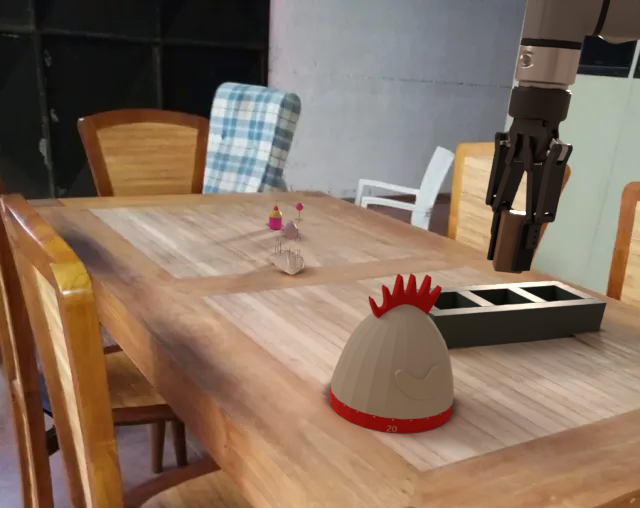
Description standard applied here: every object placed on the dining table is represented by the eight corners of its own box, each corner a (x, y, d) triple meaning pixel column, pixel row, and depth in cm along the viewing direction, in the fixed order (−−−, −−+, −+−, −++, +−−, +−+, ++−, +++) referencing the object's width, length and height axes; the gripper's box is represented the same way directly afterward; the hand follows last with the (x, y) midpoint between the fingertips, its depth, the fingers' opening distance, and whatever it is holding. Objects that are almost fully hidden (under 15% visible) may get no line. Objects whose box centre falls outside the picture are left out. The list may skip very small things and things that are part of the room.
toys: (308, 240, 148) (310, 210, 145) (270, 238, 147) (271, 208, 144) (302, 221, 163) (303, 194, 161) (267, 220, 162) (268, 192, 160)
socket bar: (598, 334, 107) (607, 302, 105) (429, 351, 96) (434, 316, 94) (549, 310, 116) (556, 280, 114) (390, 322, 105) (394, 290, 103)
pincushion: (309, 278, 123) (311, 245, 120) (274, 277, 122) (275, 244, 119) (297, 259, 133) (299, 229, 131) (265, 259, 132) (266, 228, 130)
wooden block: (493, 271, 100) (504, 214, 97) (491, 264, 104) (501, 209, 100) (522, 274, 100) (534, 217, 96) (519, 267, 104) (530, 211, 100)
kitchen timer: (474, 425, 77) (500, 292, 70) (359, 439, 73) (374, 298, 66) (415, 374, 89) (432, 255, 82) (312, 384, 84) (321, 258, 77)
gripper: (478, 80, 97) (451, 249, 108) (567, 89, 82) (525, 284, 93) (522, 83, 100) (492, 248, 110) (616, 92, 85) (570, 282, 96)
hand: (507, 264), depth 102 cm, fingers closed on wooden block, 5 cm apart
